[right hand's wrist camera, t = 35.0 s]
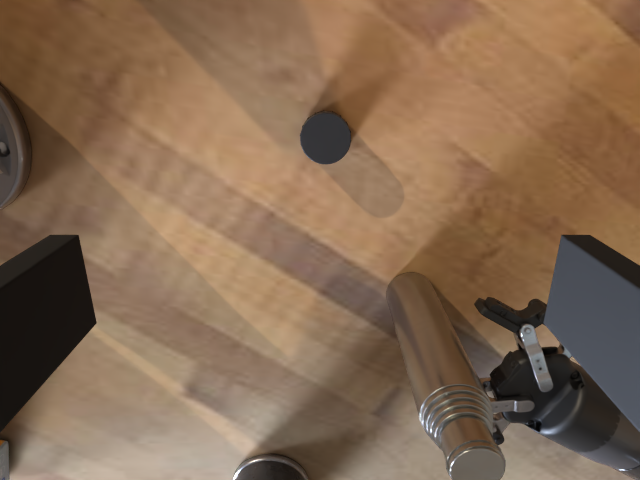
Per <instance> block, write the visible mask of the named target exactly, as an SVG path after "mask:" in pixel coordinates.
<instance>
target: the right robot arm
mask: <svg viewBox="0 0 640 480" xmlns="http://www.w3.org/2000/svg"><path fill="white" fill-rule="evenodd" d="M30 167H31V144H30V138H29V134H28V130H27V127H26V125H25V122H24V120H23V117H22V115H21V113H20V111H19V109H18V108H17V106H16V104H15V103H14V101H13V100H12V98H11V97H10V95H9V94H8V93H7V92H6V90H5V89H4V88H3V87H2V86H1V85H0V210H1V209H3V208H4V207H6V206H7V205H9V204H10V203H11V202H12V201H14V200H15V199H16V197H17V196H18V195H19V194H20V192H21V191H22V190H23V188H24V186H25V184H26V182H27V179H28V176H29V172H30ZM95 324H96V318H95V313H94V308H93V303H92V299H91V294H90V289H89V284H88V279H87V274H86V269H85V264H84V260H83V255H82V250H81V245H80V240H79V235H49V236H48V237H46V238H45V239H43V240H41V241H40V242H38V243H36V244H35V245H33V246H32V247H30V248H28V249H27V250H25V251H23V252H22V253H20V254H18V255H17V256H15V257H14V258H12V259H10V260H9V261H7V262H5V263H4V264H2V265H1V266H0V432H1V431H2V430H3V429H4V428H5V426H6V425H7V424H8V423H9V422H10V421H11V420H12V419H13V417H14V416H15V415H16V414H17V413H18V412H19V411H20V409H21V408H22V407H23V406H24V405H25V404H26V403H27V401H28V400H29V399H30V398H31V397H32V396H33V395H34V394H35V392H36V391H37V390H38V389H39V388H40V387H41V386H42V384H43V383H44V382H45V381H46V380H47V379H48V378H49V376H50V375H51V374H52V373H53V372H54V371H55V370H56V369H57V367H58V366H59V365H60V364H61V363H62V362H63V361H64V359H65V358H66V357H67V356H68V355H69V354H70V353H71V351H72V350H73V349H74V348H75V347H76V346H77V345H78V344H79V342H80V341H81V340H82V339H83V338H84V337H85V336H86V334H87V333H88V332H89V331H90V330H91V329H92V328H93V327H94V325H95ZM544 324H545V325H546V327H547V328H548V329H549V330H550V331H551V332H552V333H553V334H554V336H555V337H556V338H557V339H558V340H559V341H560V342H561V344H562V345H563V346H564V347H565V348H566V349H567V350H568V351H569V353H570V354H571V355H572V356H573V357H574V358H575V359H576V361H577V362H578V363H579V364H580V365H581V366H582V367H583V369H584V370H585V371H586V372H587V373H588V374H589V375H590V376H591V378H592V379H593V380H594V381H595V382H596V383H597V384H598V386H599V387H600V388H601V389H602V390H603V391H604V392H605V394H606V395H607V396H608V397H609V398H610V399H611V400H612V401H613V403H614V404H615V405H616V406H617V407H618V408H619V409H620V411H621V412H622V413H623V414H624V415H625V416H626V417H627V419H628V420H629V421H630V422H631V423H632V424H633V425H634V426H635V428H636V429H637V430H638V431H639V432H640V266H639V265H638V264H636V263H635V262H633V261H631V260H630V259H628V258H626V257H625V256H623V255H621V254H620V253H618V252H617V251H615V250H613V249H612V248H610V247H608V246H607V245H605V244H604V243H602V242H600V241H599V240H597V239H595V238H594V237H592V236H591V235H561V240H560V245H559V250H558V255H557V260H556V264H555V269H554V274H553V279H552V284H551V289H550V294H549V299H548V303H547V308H546V313H545V318H544Z"/></svg>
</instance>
